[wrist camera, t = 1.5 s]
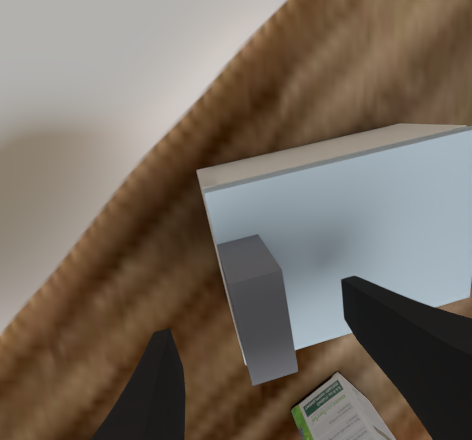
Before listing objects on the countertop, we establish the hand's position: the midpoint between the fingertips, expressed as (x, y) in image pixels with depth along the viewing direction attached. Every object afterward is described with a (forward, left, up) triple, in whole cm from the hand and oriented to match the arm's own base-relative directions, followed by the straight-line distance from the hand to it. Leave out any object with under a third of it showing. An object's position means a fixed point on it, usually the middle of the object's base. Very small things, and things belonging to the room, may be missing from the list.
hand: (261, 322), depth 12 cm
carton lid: (-6, 0, -4) cm, 7 cm away
